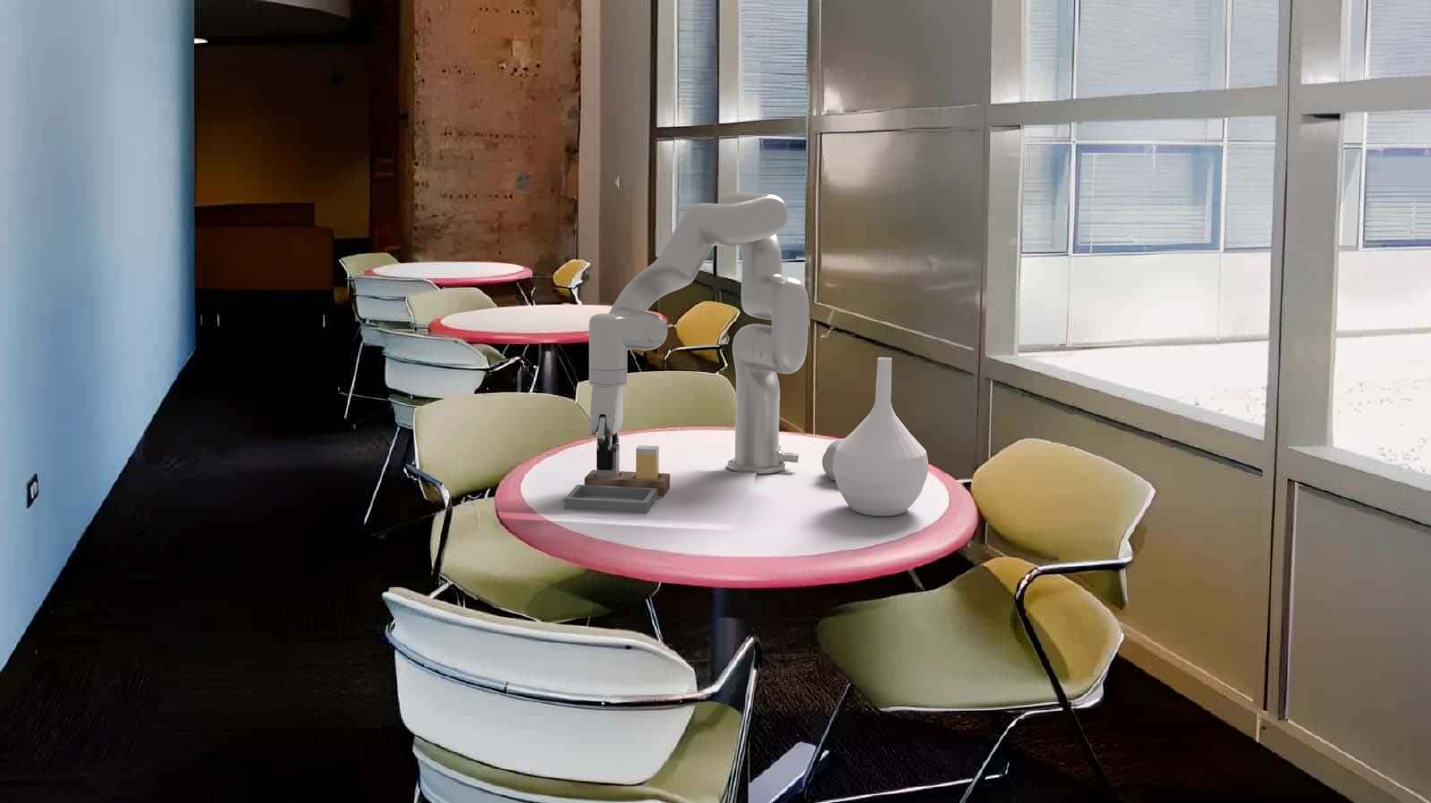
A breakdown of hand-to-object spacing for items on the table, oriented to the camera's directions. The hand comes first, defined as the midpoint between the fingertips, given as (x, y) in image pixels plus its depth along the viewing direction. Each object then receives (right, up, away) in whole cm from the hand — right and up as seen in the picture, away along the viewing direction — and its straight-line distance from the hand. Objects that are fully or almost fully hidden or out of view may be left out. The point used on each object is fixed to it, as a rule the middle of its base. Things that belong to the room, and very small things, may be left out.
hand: (607, 465), depth 263 cm
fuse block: (+4, -6, +1) cm, 7 cm away
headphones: (+54, -4, +17) cm, 57 cm away
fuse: (+8, -5, 0) cm, 9 cm away
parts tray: (+1, -8, -9) cm, 12 cm away
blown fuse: (0, -5, +1) cm, 5 cm away
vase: (+53, -9, -7) cm, 54 cm away
